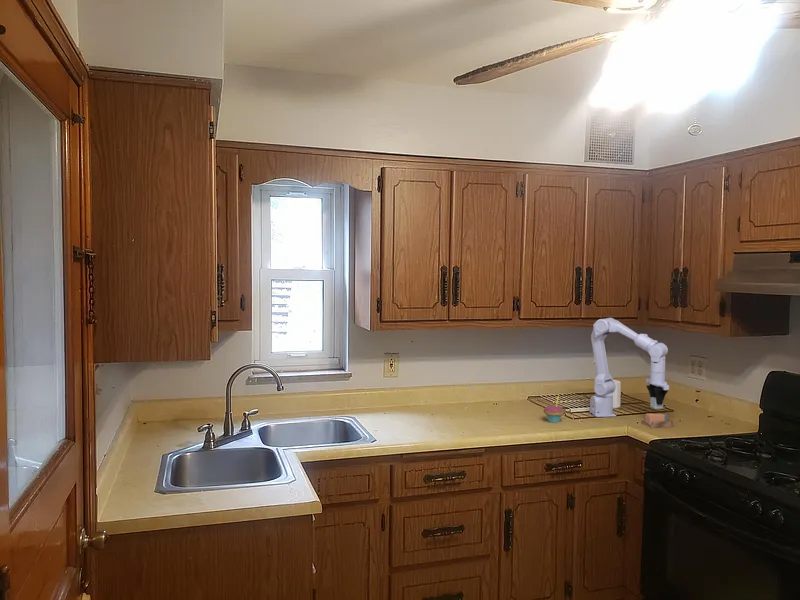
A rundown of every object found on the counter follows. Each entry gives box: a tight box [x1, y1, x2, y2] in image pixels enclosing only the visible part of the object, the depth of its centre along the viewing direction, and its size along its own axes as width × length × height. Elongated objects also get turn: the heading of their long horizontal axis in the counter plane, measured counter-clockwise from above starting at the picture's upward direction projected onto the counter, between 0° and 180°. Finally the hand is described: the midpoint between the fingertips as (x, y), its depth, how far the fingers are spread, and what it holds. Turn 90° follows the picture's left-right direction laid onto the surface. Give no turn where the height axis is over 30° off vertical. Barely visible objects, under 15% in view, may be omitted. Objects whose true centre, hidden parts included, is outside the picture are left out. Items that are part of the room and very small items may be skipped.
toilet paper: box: [613, 379, 622, 409], centre depth 285 cm, size 10×10×12 cm
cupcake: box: [543, 394, 565, 424], centre depth 257 cm, size 9×8×12 cm
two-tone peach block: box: [645, 412, 669, 424], centre depth 252 cm, size 8×4×4 cm, turn 96°
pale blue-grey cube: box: [649, 397, 664, 410], centre depth 251 cm, size 4×4×4 cm
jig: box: [641, 417, 675, 429], centre depth 252 cm, size 10×8×2 cm
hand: (656, 403), depth 251 cm, fingers closed on pale blue-grey cube, 4 cm apart
